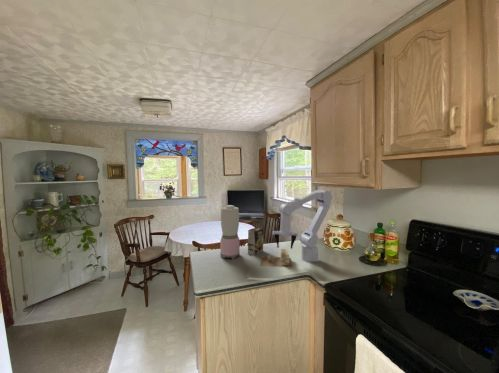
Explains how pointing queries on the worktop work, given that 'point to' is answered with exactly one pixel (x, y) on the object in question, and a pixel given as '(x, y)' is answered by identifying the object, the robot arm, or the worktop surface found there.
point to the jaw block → (284, 257)
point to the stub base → (273, 261)
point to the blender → (229, 232)
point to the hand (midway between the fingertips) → (284, 247)
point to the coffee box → (255, 241)
